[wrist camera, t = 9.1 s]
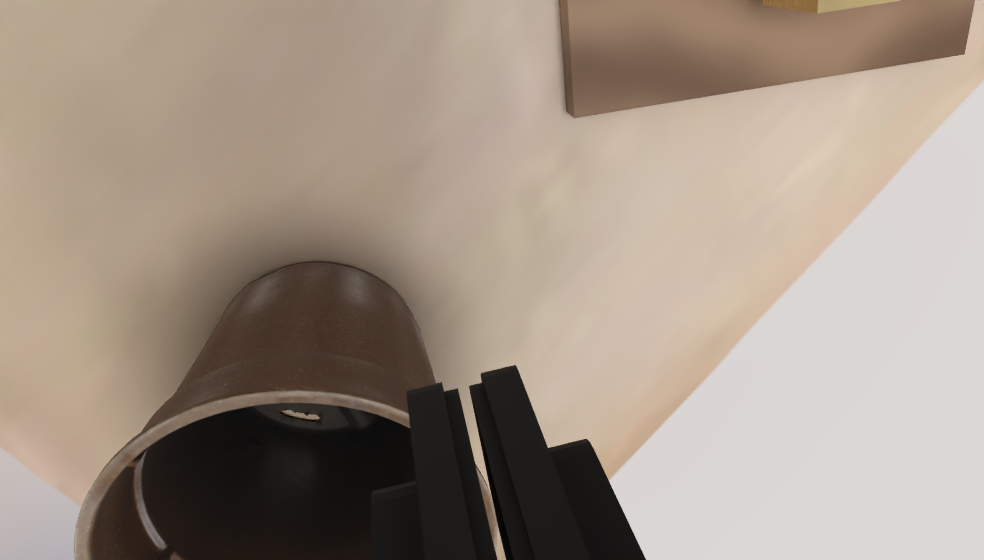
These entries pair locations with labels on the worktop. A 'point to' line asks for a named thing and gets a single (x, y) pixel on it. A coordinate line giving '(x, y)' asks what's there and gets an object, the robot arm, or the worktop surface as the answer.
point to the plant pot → (273, 431)
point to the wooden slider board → (738, 46)
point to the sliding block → (821, 4)
